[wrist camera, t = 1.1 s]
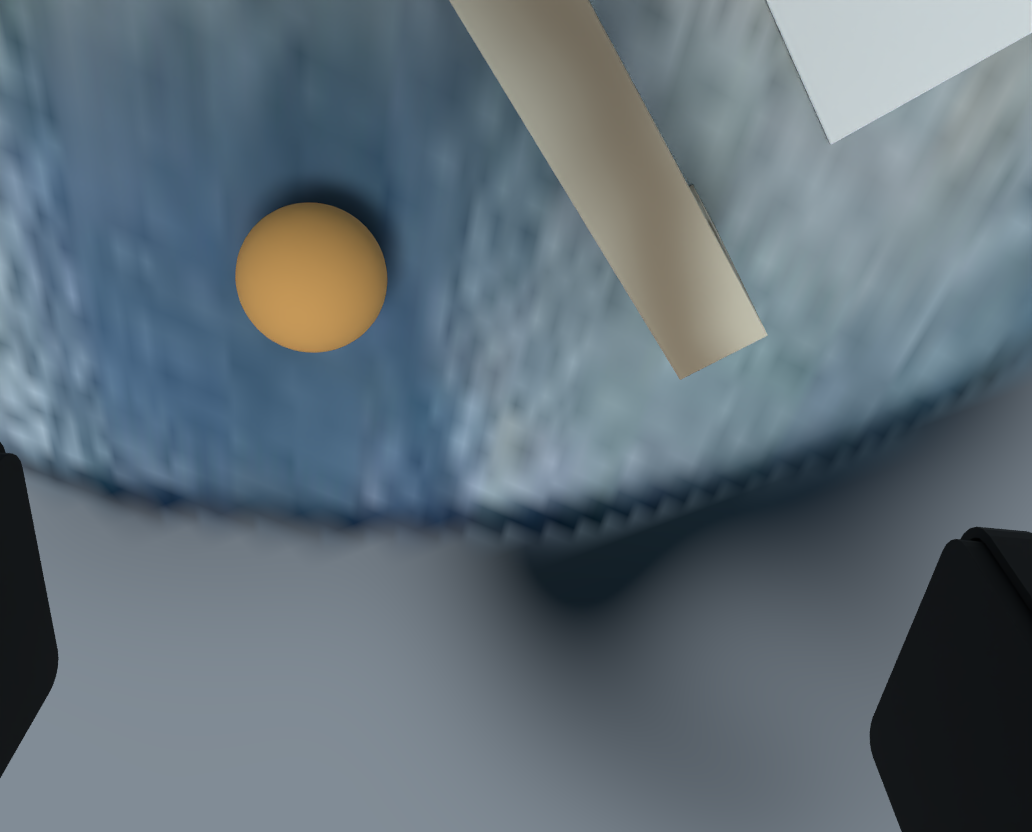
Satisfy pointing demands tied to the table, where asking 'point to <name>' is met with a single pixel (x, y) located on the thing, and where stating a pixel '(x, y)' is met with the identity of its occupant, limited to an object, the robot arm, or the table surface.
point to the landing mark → (888, 49)
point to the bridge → (617, 173)
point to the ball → (311, 277)
